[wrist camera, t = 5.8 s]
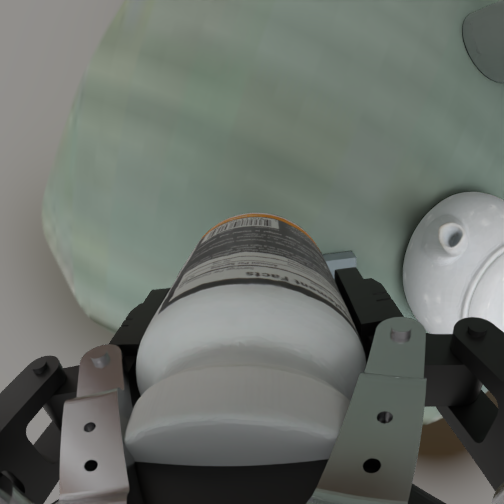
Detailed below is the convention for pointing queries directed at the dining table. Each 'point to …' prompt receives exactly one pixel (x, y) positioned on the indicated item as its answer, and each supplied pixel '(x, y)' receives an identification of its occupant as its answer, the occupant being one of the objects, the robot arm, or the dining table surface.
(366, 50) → the dining table surface
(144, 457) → the pill bottle
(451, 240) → the teapot
